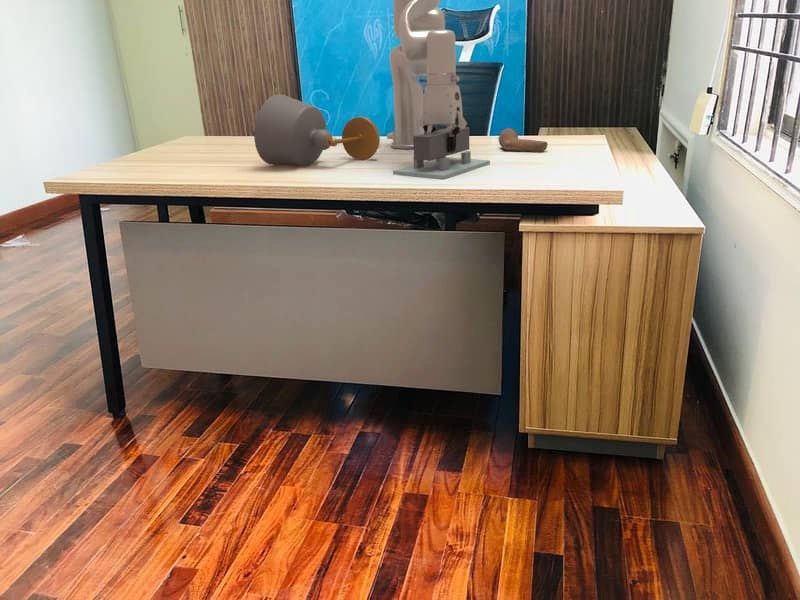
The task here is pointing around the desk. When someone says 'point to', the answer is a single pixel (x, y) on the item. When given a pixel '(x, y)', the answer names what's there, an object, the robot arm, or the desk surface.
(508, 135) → the pipe
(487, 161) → the base
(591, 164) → the desk surface
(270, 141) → the light fixture
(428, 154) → the dark gray block
